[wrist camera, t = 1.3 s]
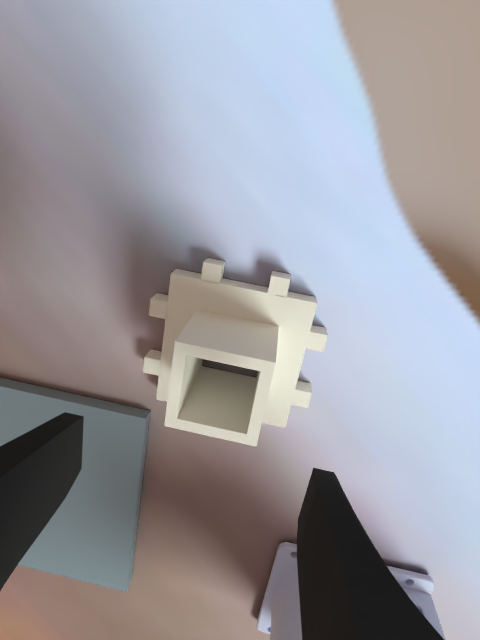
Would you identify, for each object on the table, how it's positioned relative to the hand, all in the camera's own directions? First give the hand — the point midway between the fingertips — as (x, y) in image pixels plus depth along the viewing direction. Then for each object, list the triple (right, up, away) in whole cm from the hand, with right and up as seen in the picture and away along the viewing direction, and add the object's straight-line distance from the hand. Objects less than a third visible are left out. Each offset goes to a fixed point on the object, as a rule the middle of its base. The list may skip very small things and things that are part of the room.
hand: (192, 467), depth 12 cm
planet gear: (+1, +3, +9) cm, 9 cm away
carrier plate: (-12, -6, +14) cm, 19 cm away
